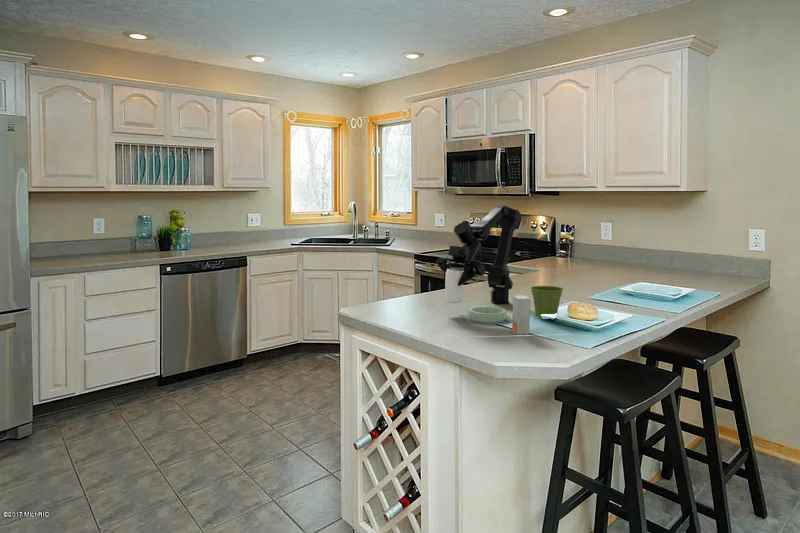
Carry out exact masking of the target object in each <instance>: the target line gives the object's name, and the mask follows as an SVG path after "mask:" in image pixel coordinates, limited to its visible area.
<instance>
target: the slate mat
mask: <svg viewBox="0 0 800 533" xmlns="http://www.w3.org/2000/svg"><path fill="white" fill-rule="evenodd" d="M458 317H460V319H462V321H463V322H465V323H466V325H477V324H478V325H482V324H484V325H486V324H487V325H488V324H489V325H490V324H491V323H481V322H475V321H472V320H470V319H469V316H468V314H458ZM498 324H512V317H510V316H509V315H507V314H506V320H505V321H503V322H499V323H498Z"/></svg>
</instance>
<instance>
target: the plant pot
mask: <svg viewBox="0 0 800 533" xmlns="http://www.w3.org/2000/svg"><path fill="white" fill-rule="evenodd" d="M529 288H530V290H531V294H532V298H533V304H534V305H533V306H534V314H535V318H536V317H538V318H541V319H540V320H543V319H542V317H541V316H540V315H541V314H555V313H557V314H558V312H559V311H558V310H559V306H560V300H561V297H562V293H563V292H564V290H565V289H564V288H563V287H560V286H551V285H534V286H531V287H529ZM538 318H537V319H538Z"/></svg>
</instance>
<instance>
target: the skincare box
mask: <svg viewBox="0 0 800 533" xmlns="http://www.w3.org/2000/svg"><path fill="white" fill-rule="evenodd" d="M511 318H512V323H511V324H512V325H511V330H512V331H513V332H514V333H515V334H517V335H528V336H529V335H530V331H531V330H530V328H531V327H530V324H531V298H530V297H528V296H527V295H525V294H524V295H523V294H520V295H519V294H517V295H513V296H512V317H511Z"/></svg>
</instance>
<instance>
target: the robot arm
mask: <svg viewBox="0 0 800 533" xmlns="http://www.w3.org/2000/svg"><path fill="white" fill-rule="evenodd" d="M521 220H522V214H521V212H520V211H519V210H518V209H514V208H512V207H509V206H507V205H504V204H503V205H502V204H496V205H495V206H493V208H492V210H491V211H489V213H487V214H486V215H485V216H484V217H483V218H482V219H481V220H479V221H475V222H474V223H472V224H470V222H469V221H468V220H462V222H460V223H458V224H457V225H454V228H453V233H454V234H455V236H456V237H457V239H458V241H459V242H460V243H462V246H458V245H450V246H449V249H448V252H447V254H448V255H450V256H452V257H451V258H452V261H450V258H449V257H438V259H437V260H436V262H435V263H436V265H437V266H438V267H439V269H440V270H441V271H442V272H443V281H442V283H443V284H444V285H445V275H446V271H447V269H448V268H460V269H462V270H463V271H462V272H463V274H462V276H461V278H460V280H459V282H458V286H461V285H462V284H463V285H464V284H465V283H466V282H468V281H470V280H471V279H473V278H477V276H479V277H484V275H485V274H486V268H485V266H484V264H482V263H483V262H482V261H481V260H476V257H475V255H476V254H477V252H478V251H482V250H483V249H482V248H483V247H482V243H481V242H480V241H486V240H487V239H488V237H489V236H490V234H491V230H492V228H493V227H494V226H495V225H496V224H497V223H499V225H500V228H501V229H500V230H501V231H500V236H499V241H498V247H497V252H496V255H495V256H496V257H495V262H494V263H493V264H491V265H489V267H488V272H487V284H488V288H491V290H490V302H491V303H493V304H496V305H498V304H500V305H501V304H503V305H504V304H510V303H511V302H510V301H509V295H510V294H509V293H510V290H511V289H513V285H514V283H513V281H512V279H511V277H510V270H509V267H508V261H509V257H510V250H511V246H512V241H513V236H514V232H515V230H516V229H517V228H519V226H520V221H521Z"/></svg>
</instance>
